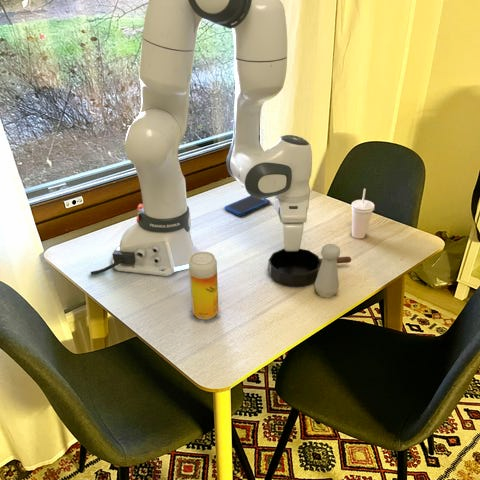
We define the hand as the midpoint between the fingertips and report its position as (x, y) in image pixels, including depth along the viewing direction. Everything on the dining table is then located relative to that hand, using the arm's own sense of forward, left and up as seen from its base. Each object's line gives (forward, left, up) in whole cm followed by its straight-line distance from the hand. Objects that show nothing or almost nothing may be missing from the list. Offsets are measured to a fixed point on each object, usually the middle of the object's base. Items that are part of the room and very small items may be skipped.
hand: (288, 248), depth 140 cm
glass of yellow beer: (-21, -26, -2) cm, 33 cm away
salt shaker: (+8, -18, -2) cm, 20 cm away
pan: (+5, -8, -2) cm, 10 cm away
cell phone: (-11, +30, -2) cm, 32 cm away
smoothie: (+21, +11, -2) cm, 24 cm away
